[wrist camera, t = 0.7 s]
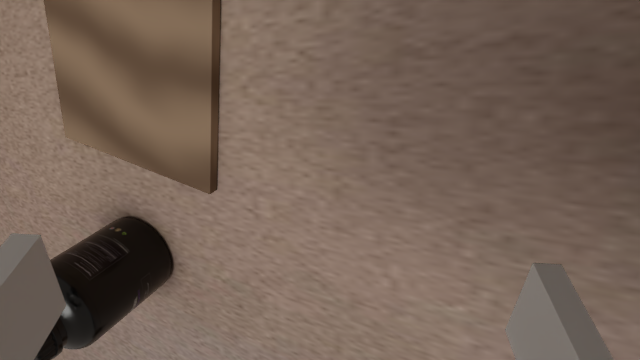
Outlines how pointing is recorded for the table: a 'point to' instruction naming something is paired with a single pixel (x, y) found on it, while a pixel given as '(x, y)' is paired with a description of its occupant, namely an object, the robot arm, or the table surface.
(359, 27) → the table surface
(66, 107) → the board
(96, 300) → the supplement bottle
